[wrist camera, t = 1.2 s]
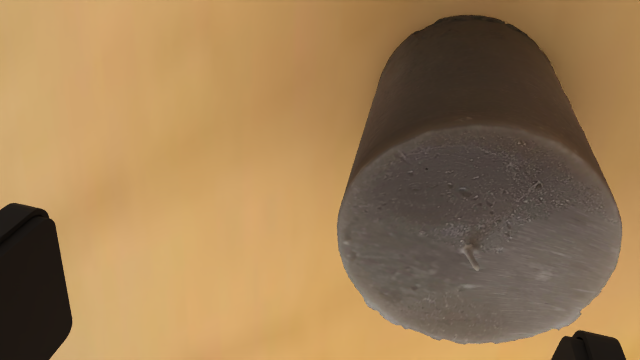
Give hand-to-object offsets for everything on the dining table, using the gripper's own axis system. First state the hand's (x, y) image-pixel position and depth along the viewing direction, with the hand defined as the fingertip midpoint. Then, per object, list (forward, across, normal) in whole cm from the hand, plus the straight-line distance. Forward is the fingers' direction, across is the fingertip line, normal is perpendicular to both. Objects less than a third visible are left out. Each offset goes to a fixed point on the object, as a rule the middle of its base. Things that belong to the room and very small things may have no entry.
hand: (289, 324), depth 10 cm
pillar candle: (+23, -5, +4) cm, 23 cm away
